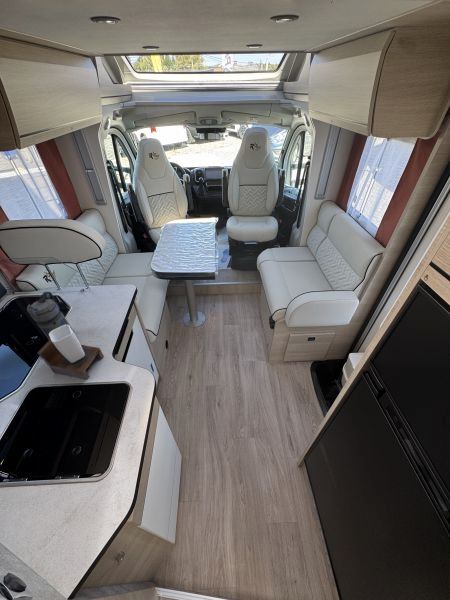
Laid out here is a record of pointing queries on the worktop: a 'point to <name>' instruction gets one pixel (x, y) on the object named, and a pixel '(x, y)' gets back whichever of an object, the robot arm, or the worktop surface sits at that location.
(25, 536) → the worktop surface
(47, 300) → the beverage bottle
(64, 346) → the cup
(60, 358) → the shelf
